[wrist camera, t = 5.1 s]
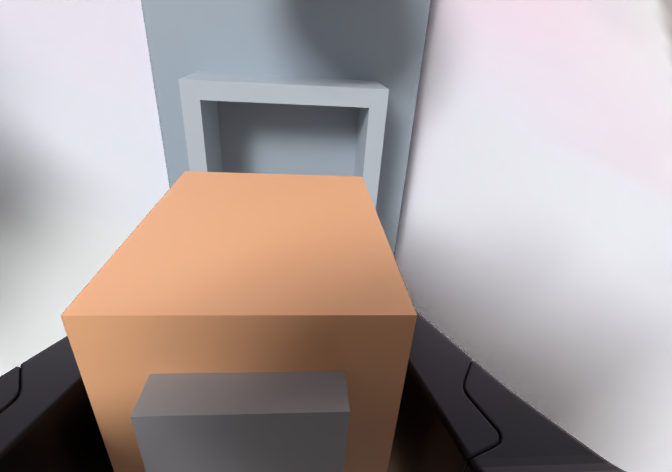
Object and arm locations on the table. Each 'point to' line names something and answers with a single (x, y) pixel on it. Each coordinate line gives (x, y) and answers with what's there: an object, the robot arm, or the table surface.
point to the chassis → (290, 88)
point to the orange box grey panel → (248, 330)
